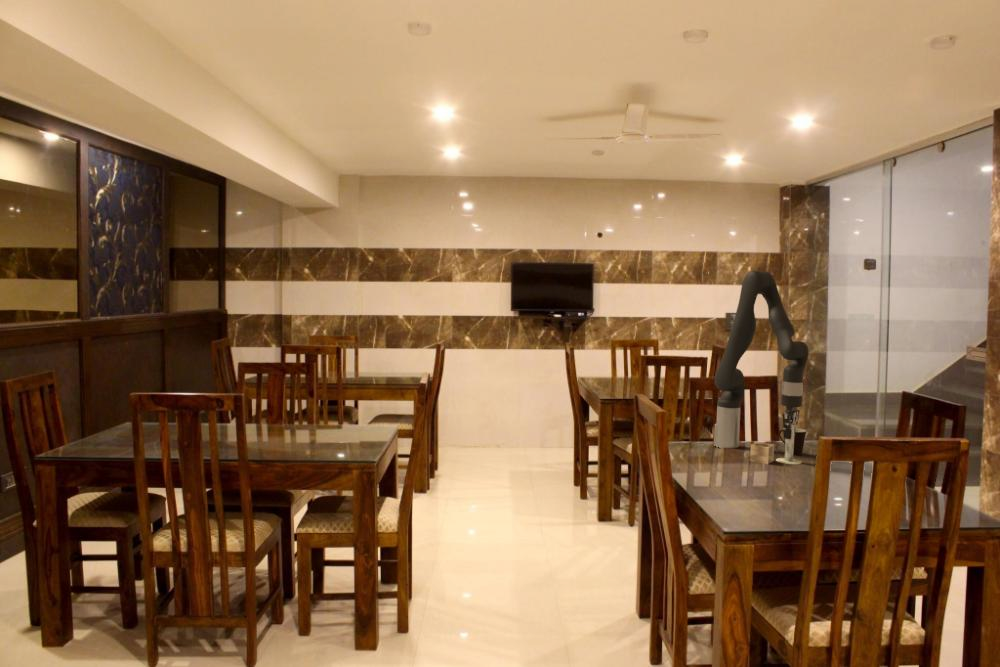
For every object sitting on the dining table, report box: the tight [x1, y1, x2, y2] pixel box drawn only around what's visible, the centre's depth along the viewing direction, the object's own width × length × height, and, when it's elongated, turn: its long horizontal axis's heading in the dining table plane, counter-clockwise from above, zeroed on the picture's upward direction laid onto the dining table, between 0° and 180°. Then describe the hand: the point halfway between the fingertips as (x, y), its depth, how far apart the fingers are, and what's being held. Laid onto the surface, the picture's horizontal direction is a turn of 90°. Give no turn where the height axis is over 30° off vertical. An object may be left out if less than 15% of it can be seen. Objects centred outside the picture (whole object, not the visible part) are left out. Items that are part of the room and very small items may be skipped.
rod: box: [784, 423, 795, 462], centre depth 275 cm, size 3×3×14 cm
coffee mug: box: [778, 427, 807, 457], centre depth 292 cm, size 12×9×10 cm
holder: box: [749, 442, 775, 465], centre depth 275 cm, size 7×7×7 cm
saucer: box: [775, 457, 802, 465], centre depth 275 cm, size 9×9×1 cm
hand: (789, 437), depth 275 cm, fingers open, 4 cm apart
